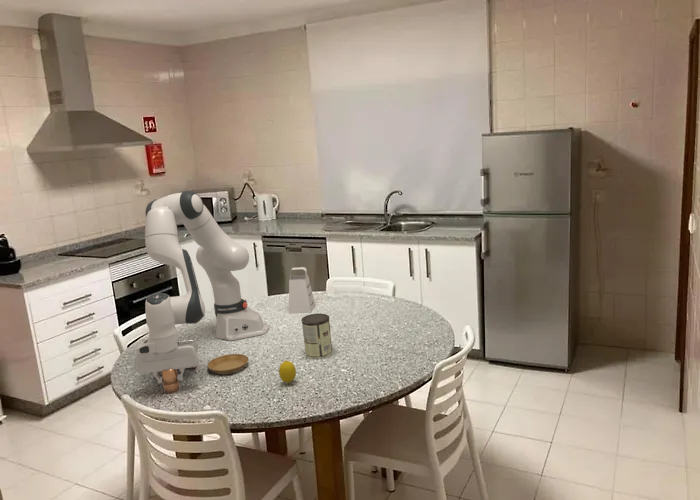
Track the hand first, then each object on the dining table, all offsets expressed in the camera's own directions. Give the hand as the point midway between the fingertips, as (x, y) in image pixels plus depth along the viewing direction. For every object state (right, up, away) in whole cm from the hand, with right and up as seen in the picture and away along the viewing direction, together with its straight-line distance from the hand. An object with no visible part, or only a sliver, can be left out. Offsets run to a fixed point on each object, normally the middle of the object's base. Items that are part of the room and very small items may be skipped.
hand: (170, 381), depth 190 cm
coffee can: (+49, +5, +21) cm, 53 cm away
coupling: (0, -3, +1) cm, 3 cm away
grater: (+38, +16, +75) cm, 86 cm away
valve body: (-3, 0, +17) cm, 17 cm away
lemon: (+40, 0, -1) cm, 40 cm away
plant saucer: (+16, +1, +16) cm, 22 cm away
